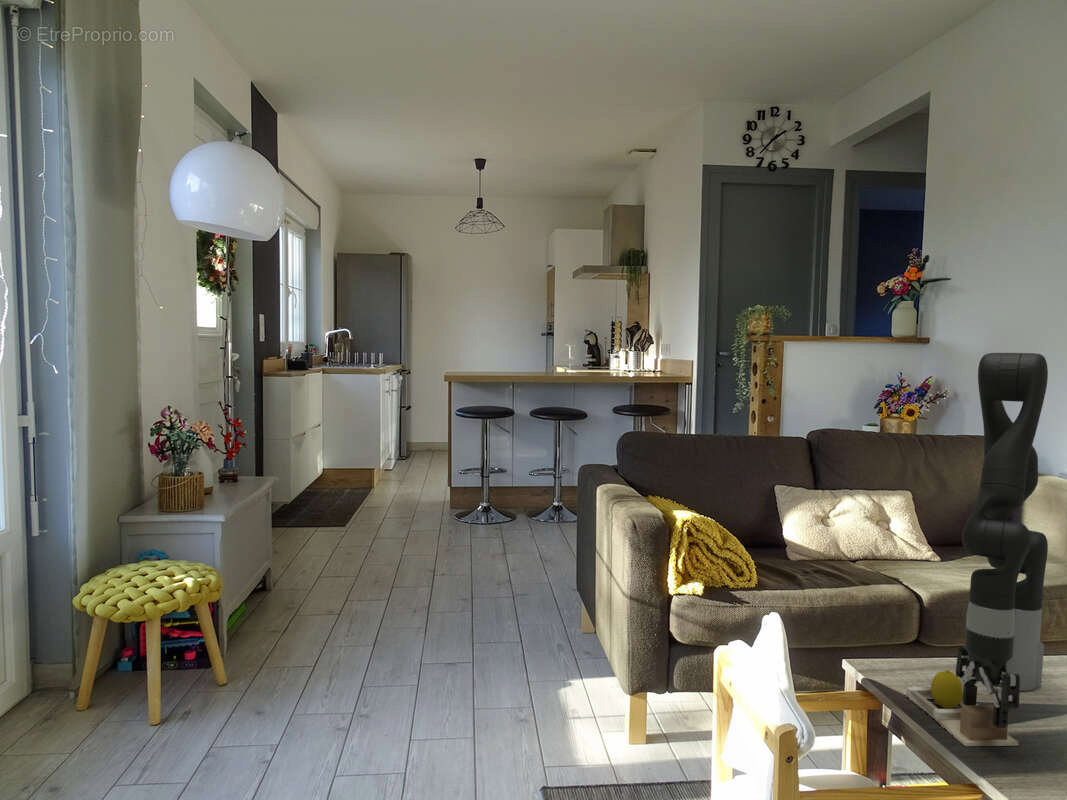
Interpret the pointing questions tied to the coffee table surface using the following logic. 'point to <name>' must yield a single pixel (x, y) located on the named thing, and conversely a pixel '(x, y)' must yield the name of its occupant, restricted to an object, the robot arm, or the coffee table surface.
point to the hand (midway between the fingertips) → (983, 715)
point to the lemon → (946, 689)
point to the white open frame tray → (964, 720)
